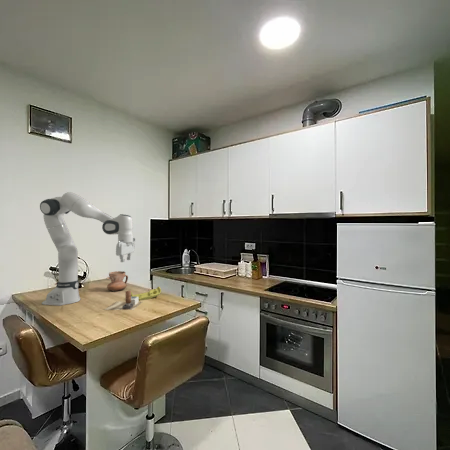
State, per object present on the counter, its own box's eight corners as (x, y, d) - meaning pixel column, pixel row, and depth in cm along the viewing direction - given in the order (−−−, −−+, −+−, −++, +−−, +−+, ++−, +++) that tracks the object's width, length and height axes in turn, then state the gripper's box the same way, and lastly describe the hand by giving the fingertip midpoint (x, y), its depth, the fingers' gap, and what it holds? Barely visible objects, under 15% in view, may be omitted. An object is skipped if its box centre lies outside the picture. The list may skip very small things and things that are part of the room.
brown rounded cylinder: (125, 308, 151) (125, 292, 151) (125, 306, 154) (125, 290, 154) (130, 308, 152) (130, 291, 152) (131, 306, 155) (131, 290, 155)
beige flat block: (104, 311, 149) (103, 307, 149) (116, 303, 165) (116, 299, 165) (133, 311, 149) (133, 307, 149) (142, 303, 165) (142, 299, 165)
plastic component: (133, 300, 165) (130, 290, 172) (133, 308, 168) (130, 298, 175) (162, 293, 175) (158, 284, 182) (162, 301, 178) (158, 292, 185)
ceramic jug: (110, 293, 189) (111, 275, 189) (102, 290, 198) (102, 272, 198) (132, 289, 202) (132, 272, 203) (123, 286, 212) (123, 269, 212)
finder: (135, 304, 158) (135, 298, 158) (127, 304, 158) (127, 298, 158) (138, 302, 164) (138, 296, 164) (131, 302, 164) (131, 296, 164)
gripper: (123, 240, 148) (123, 263, 148) (136, 238, 169) (136, 258, 169) (113, 240, 148) (113, 263, 148) (127, 238, 169) (127, 258, 169)
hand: (125, 261), depth 159 cm, fingers open, 8 cm apart
